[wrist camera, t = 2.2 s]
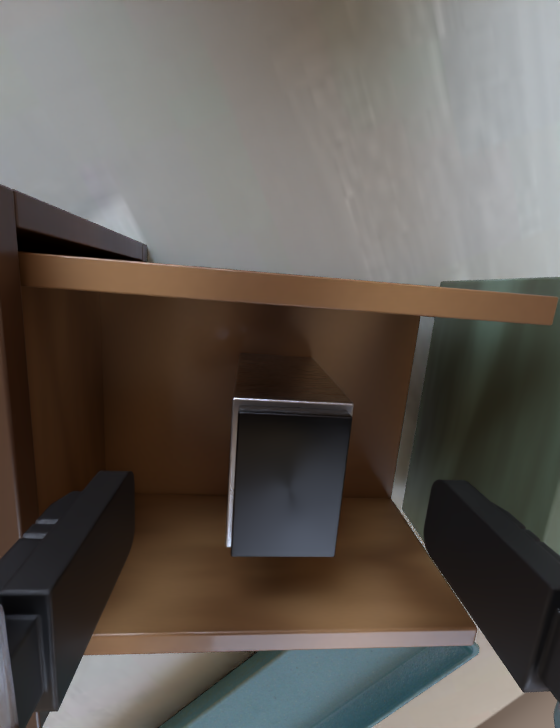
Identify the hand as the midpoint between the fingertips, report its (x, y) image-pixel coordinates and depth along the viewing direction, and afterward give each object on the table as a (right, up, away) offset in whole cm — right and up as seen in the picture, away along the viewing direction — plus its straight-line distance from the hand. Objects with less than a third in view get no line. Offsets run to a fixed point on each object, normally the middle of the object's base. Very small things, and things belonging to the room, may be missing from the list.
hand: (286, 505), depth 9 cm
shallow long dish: (0, -19, +15) cm, 24 cm away
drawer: (+2, +2, +9) cm, 10 cm away
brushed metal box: (-1, +2, +8) cm, 8 cm away
